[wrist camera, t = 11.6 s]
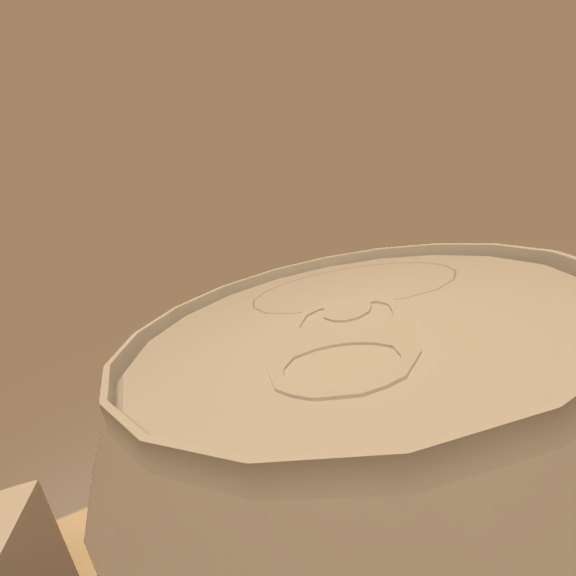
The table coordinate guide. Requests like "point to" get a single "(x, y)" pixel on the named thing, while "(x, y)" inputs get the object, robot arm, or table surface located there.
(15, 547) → the robot arm
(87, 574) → the table surface
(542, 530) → the supplement can
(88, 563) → the table surface
